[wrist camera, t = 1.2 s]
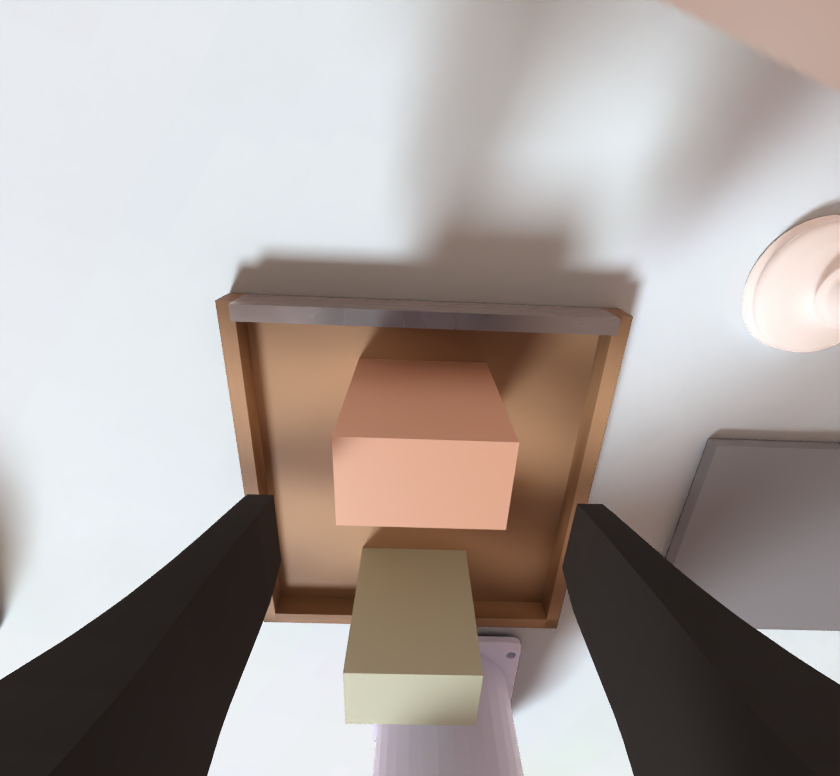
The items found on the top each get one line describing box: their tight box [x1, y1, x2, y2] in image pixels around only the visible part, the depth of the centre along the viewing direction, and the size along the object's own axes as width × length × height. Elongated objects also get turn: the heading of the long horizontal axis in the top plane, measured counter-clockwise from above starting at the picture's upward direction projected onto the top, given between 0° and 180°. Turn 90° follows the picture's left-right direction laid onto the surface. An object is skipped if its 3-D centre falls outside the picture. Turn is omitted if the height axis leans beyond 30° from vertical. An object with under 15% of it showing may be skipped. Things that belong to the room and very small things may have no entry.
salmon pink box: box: [332, 358, 519, 530], centre depth 15 cm, size 3×5×6 cm, turn 88°
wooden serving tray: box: [215, 293, 633, 628], centre depth 19 cm, size 16×15×2 cm
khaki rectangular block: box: [343, 548, 483, 726], centre depth 19 cm, size 3×5×6 cm, turn 88°
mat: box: [666, 439, 840, 631], centre depth 21 cm, size 11×11×1 cm
